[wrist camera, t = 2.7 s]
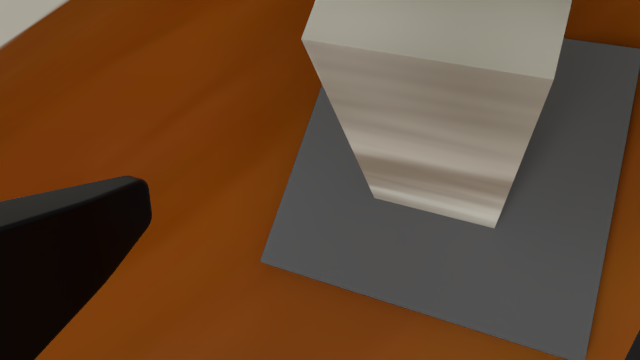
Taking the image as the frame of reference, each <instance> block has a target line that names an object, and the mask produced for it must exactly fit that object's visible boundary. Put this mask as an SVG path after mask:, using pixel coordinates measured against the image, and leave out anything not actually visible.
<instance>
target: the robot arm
mask: <svg viewBox="0 0 640 360" xmlns="http://www.w3.org/2000/svg"><path fill="white" fill-rule="evenodd" d="M151 218H152V211H151V203H150V195H149V188H148V185H147V183H146V182H145V181H144V180H142V179H139V178H135V177H132V176H122V177H117V178H112V179H107V180H103V181H98V182H93V183H88V184H83V185H78V186H74V187H69V188H64V189H59V190H54V191H50V192H45V193H40V194H35V195H30V196H25V197H21V198H16V199H11V200H6V201H1V202H0V360H34V359H35V358H36V357H37V356H38V355H39V354H40V353H41V352H42V351H43V350H44V349H45V348H46V346H47V345H48V344H49V343H50V342H51V341H52V340H53V339H54V338H55V337H56V336H57V335H58V334H59V332H60V331H61V330H62V329H63V328H64V327H65V326H66V325H67V324H68V323H69V322H70V321H71V319H72V318H73V317H74V316H75V315H76V314H77V313H78V312H79V311H80V310H81V309H82V308H83V307H84V305H85V304H86V303H87V302H88V301H89V300H90V299H91V298H92V297H93V296H94V295H95V294H96V292H97V291H98V290H99V289H100V288H101V287H102V286H103V285H104V284H105V282H106V281H107V280H108V279H109V277H110V276H111V275H112V274H113V272H114V271H115V270H116V268H117V267H118V266H119V264H120V263H121V262H122V261H123V259H124V258H125V257H126V255H127V254H128V253H129V251H130V250H131V249H132V247H133V246H134V245H135V243H136V242H137V241H138V239H139V238H140V237H141V236H142V234H143V233H144V232H145V230H146V229H147V228H148V226H149V224H150V222H151ZM625 360H640V330H639V332H638V334H637V336H636V338H635V340H634V342H633V344H632V346H631V348H630V350H629V352H628V354H627V356H626V358H625Z"/></svg>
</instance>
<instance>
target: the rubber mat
mask: <svg viewBox="0 0 640 360" xmlns="http://www.w3.org/2000/svg"><path fill="white" fill-rule="evenodd" d="M639 69H640V49H638V48H630V47H623V46H616V45H609V44H601V43H594V42H587V41H580V40H572V39H565V38H563V42H562V46H561V51H560V55H559V59H558V64H557V68H556V72H555V77H554V80H553V83H552V85H551V88H550V91H549V93H548V96H547V98H546V101H545V103H544V106H543V108H542V111H541V113H540V116H539V118H538V121H537V123H536V126H535V128H534V131H533V133H532V136H531V138H530V141H529V143H528V146H527V148H526V151H525V153H524V156H523V158H522V161H521V163H520V166H519V168H518V171H517V173H516V176H515V178H514V181H513V183H512V186H511V188H510V191H509V193H508V196H507V198H506V201H505V203H504V206H503V208H502V211H501V214H500V216H499V219H498V221H497V224H496V226H495V228H491V227H487V226H483V225H479V224H475V223H471V222H467V221H463V220H459V219H455V218H451V217H447V216H443V215H440V214H436V213H432V212H428V211H424V210H420V209H416V208H412V207H408V206H404V205H400V204H396V203H392V202H388V201H384V200H381V199H377V198H374V196H373V194H372V192H371V189H370V187H369V185H368V183H367V181H366V179H365V176H364V174H363V172H362V170H361V168H360V166H359V163H358V161H357V159H356V157H355V155H354V152H353V150H352V148H351V146H350V144H349V142H348V139H347V137H346V135H345V133H344V131H343V129H342V126H341V124H340V122H339V120H338V118H337V116H336V113H335V111H334V109H333V107H332V105H331V103H330V100H329V98H328V96H327V94H326V92H325V90H324V87H323V85H322V86H321V89H320V92H319V95H318V98H317V101H316V104H315V106H314V109H313V112H312V115H311V118H310V121H309V123H308V126H307V129H306V132H305V135H304V138H303V140H302V143H301V146H300V149H299V152H298V155H297V158H296V160H295V163H294V166H293V169H292V172H291V175H290V177H289V180H288V183H287V186H286V189H285V192H284V194H283V197H282V200H281V203H280V206H279V209H278V212H277V214H276V217H275V220H274V223H273V226H272V229H271V231H270V234H269V237H268V240H267V243H266V246H265V248H264V251H263V254H262V257H261V260H260V262H263V263H265V264H268V265H271V266H274V267H277V268H280V269H283V270H287V271H290V272H293V273H296V274H299V275H302V276H306V277H309V278H312V279H315V280H318V281H321V282H324V283H328V284H331V285H334V286H337V287H340V288H343V289H346V290H350V291H353V292H356V293H359V294H362V295H365V296H369V297H372V298H375V299H378V300H381V301H384V302H387V303H391V304H394V305H397V306H400V307H403V308H406V309H409V310H413V311H416V312H419V313H422V314H425V315H428V316H432V317H435V318H438V319H441V320H444V321H447V322H450V323H454V324H457V325H460V326H463V327H466V328H469V329H472V330H476V331H479V332H482V333H485V334H488V335H491V336H495V337H498V338H501V339H504V340H507V341H510V342H513V343H517V344H520V345H523V346H526V347H529V348H532V349H535V350H539V351H542V352H545V353H548V354H551V355H554V356H558V357H561V358H564V359H567V360H585V358H586V353H587V348H588V342H589V337H590V332H591V326H592V321H593V315H594V310H595V305H596V299H597V294H598V289H599V283H600V278H601V273H602V267H603V262H604V256H605V251H606V246H607V240H608V235H609V230H610V224H611V219H612V214H613V208H614V203H615V198H616V192H617V187H618V181H619V176H620V171H621V165H622V160H623V155H624V149H625V144H626V139H627V133H628V128H629V122H630V117H631V112H632V106H633V101H634V96H635V90H636V85H637V80H638V74H639Z"/></svg>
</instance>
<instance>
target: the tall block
mask: <svg viewBox="0 0 640 360" xmlns="http://www.w3.org/2000/svg"><path fill="white" fill-rule="evenodd" d="M571 3H572V0H315V3H314V6H313V9H312V11H311V14H310V17H309V19H308V22H307V25H306V27H305V30H304V33H303V35H302V38H301V40H302V42H303V44H304V46H305V48H306V50H307V53H308V55H309V57H310V59H311V61H312V63H313V66H314V68H315V70H316V72H317V74H318V77H319V79H320V81H321V83H322V85H323V87H324V90H325V92H326V94H327V96H328V98H329V100H330V103H331V105H332V107H333V109H334V111H335V113H336V116H337V118H338V120H339V122H340V124H341V126H342V129H343V131H344V133H345V135H346V137H347V139H348V142H349V144H350V146H351V148H352V150H353V152H354V155H355V157H356V159H357V161H358V163H359V166H360V168H361V170H362V172H363V174H364V176H365V179H366V181H367V183H368V185H369V187H370V189H371V192H372V194H373V196H374V198H377V199H381V200H384V201H388V202H392V203H396V204H400V205H404V206H408V207H412V208H416V209H420V210H424V211H428V212H432V213H436V214H440V215H443V216H447V217H451V218H455V219H459V220H463V221H467V222H471V223H475V224H479V225H483V226H487V227H491V228H495V226H496V224H497V221H498V219H499V216H500V214H501V211H502V208H503V206H504V203H505V201H506V198H507V196H508V193H509V191H510V188H511V186H512V183H513V181H514V178H515V176H516V173H517V171H518V168H519V166H520V163H521V161H522V158H523V156H524V153H525V151H526V148H527V146H528V143H529V141H530V138H531V136H532V133H533V131H534V128H535V126H536V123H537V121H538V118H539V116H540V113H541V111H542V108H543V106H544V103H545V101H546V98H547V96H548V93H549V91H550V88H551V85H552V83H553V80H554V77H555V72H556V68H557V64H558V59H559V55H560V51H561V46H562V42H563V38H564V33H565V29H566V25H567V20H568V16H569V12H570V7H571Z"/></svg>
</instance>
